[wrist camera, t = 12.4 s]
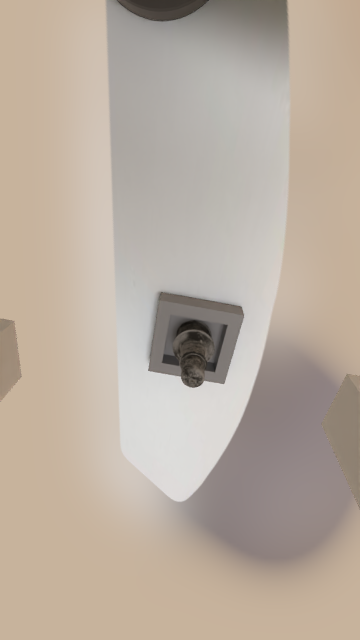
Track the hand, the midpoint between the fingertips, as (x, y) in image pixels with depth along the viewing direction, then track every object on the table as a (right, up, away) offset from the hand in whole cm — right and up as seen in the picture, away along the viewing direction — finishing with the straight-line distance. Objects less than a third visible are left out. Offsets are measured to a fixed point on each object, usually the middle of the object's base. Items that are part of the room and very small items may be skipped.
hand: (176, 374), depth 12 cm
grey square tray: (+2, 0, +33) cm, 33 cm away
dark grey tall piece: (+2, 0, +33) cm, 33 cm away
